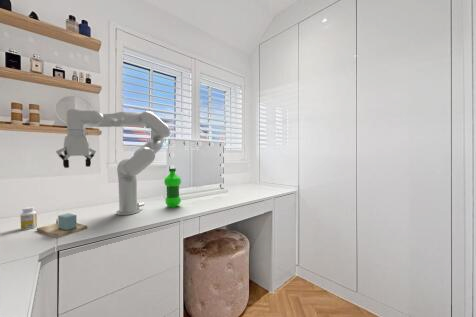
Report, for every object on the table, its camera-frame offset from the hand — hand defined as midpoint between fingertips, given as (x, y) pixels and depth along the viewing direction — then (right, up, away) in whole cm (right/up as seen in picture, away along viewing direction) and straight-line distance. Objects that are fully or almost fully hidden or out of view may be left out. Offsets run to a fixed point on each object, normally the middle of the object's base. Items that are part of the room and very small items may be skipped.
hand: (77, 167), depth 108 cm
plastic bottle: (+40, -27, +29) cm, 57 cm away
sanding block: (+6, -27, -13) cm, 31 cm away
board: (+1, -29, -11) cm, 31 cm away
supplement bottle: (-17, -29, -8) cm, 34 cm away
